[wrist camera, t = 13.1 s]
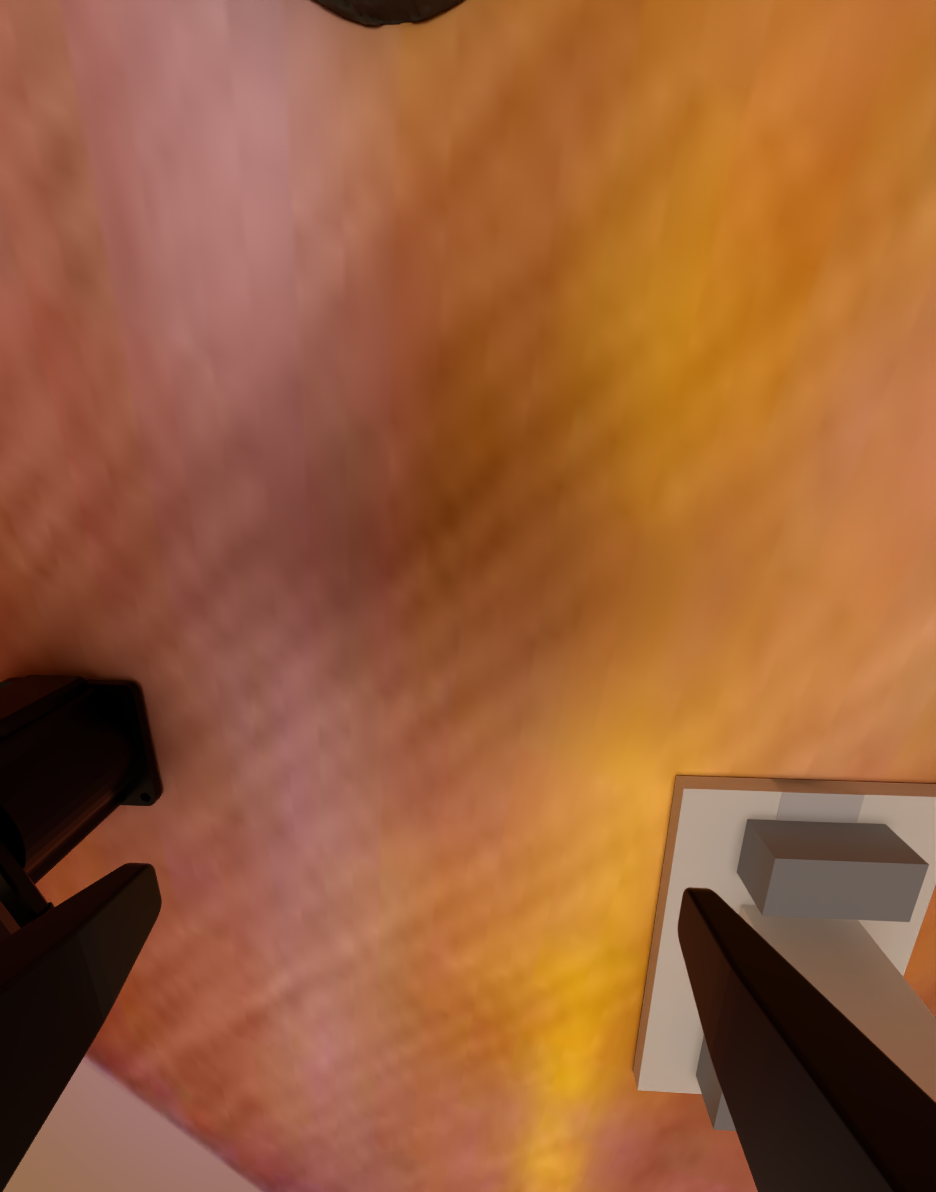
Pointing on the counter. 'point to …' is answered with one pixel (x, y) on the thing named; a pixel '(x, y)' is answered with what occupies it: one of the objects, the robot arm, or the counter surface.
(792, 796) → the rail plate
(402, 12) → the pillar candle
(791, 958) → the block
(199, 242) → the counter surface
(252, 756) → the counter surface
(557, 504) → the counter surface
